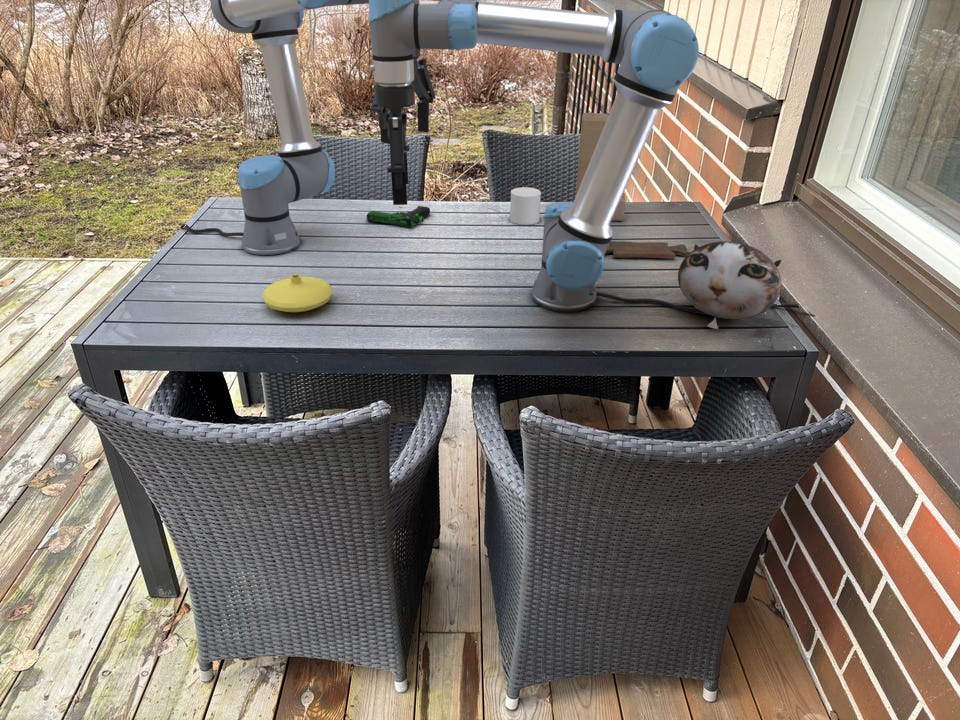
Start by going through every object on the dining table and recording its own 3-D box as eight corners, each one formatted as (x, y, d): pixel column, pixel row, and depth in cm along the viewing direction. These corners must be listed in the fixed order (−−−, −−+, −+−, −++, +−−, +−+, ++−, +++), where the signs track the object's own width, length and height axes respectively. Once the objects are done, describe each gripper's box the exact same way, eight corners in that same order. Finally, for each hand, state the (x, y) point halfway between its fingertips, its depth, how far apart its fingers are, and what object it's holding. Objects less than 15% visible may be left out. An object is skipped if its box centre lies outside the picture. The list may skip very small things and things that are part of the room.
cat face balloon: (655, 305, 156) (684, 221, 158) (671, 327, 172) (697, 250, 173) (760, 330, 146) (790, 239, 147) (766, 351, 161) (793, 268, 163)
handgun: (435, 206, 218) (413, 220, 206) (436, 216, 220) (413, 230, 208) (389, 200, 224) (364, 213, 212) (389, 209, 225) (365, 223, 213)
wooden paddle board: (691, 261, 192) (683, 247, 200) (692, 255, 191) (684, 241, 199) (595, 258, 192) (591, 244, 200) (595, 252, 191) (591, 238, 200)
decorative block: (623, 221, 217) (635, 120, 201) (573, 219, 218) (582, 117, 203) (622, 213, 223) (634, 114, 208) (574, 210, 225) (582, 112, 209)
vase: (301, 284, 175) (298, 257, 172) (347, 301, 167) (345, 273, 164) (249, 307, 164) (244, 278, 160) (296, 326, 156) (292, 297, 153)
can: (531, 226, 212) (533, 198, 208) (504, 221, 216) (505, 193, 212) (544, 218, 219) (545, 190, 215) (517, 213, 223) (519, 185, 218)
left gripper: (378, 45, 144) (383, 151, 155) (450, 33, 162) (449, 129, 173) (350, 41, 148) (357, 145, 159) (423, 30, 166) (425, 124, 177)
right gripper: (377, 72, 145) (385, 176, 156) (370, 96, 124) (379, 214, 135) (414, 72, 146) (419, 175, 156) (413, 95, 124) (419, 213, 135)
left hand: (405, 137), depth 166 cm, fingers open, 13 cm apart
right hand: (401, 193), depth 146 cm, fingers open, 13 cm apart
